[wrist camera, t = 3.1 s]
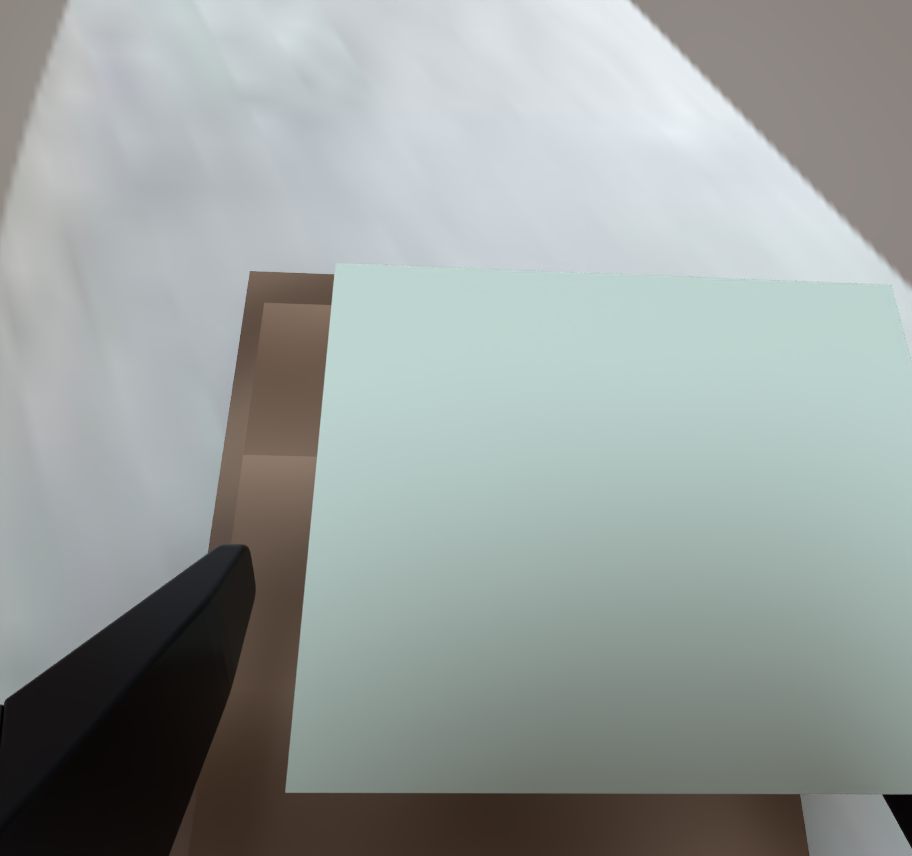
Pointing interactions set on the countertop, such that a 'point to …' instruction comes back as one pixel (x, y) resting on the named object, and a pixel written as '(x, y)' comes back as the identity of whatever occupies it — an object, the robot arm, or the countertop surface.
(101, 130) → the countertop surface
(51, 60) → the countertop surface
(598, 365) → the stub
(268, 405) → the brown stepped stand
